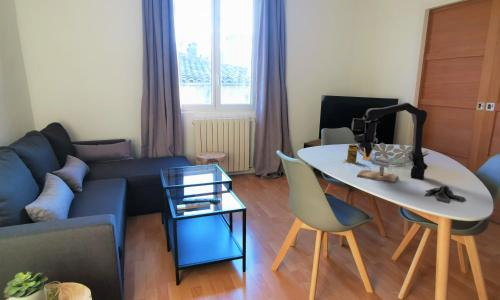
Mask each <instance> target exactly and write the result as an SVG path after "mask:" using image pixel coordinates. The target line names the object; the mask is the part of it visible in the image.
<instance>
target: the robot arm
mask: <svg viewBox="0 0 500 300" xmlns="http://www.w3.org/2000/svg"><path fill="white" fill-rule="evenodd" d="M403 111H406V112H408V113H409V114H410V115H411V119H412V122H413V134H412V135H413V137H412V149H411V151H408V157H407V159H408V160H409V162H410V163H411V165H412V168H411V169H410V178H411V179H416V180H417V179H418V180H425V179H424V178H425V173H426V170H427V168H428V165H427V164H426V162H425V159H424V153H423V151H422V150H423V149H422V147H423V135H424V134H423V133H424V124H425V123H426V121H427V118H428V112H427V111H426V110H425V109H421V108H418V107H416V106H414V105H412V104H411V103H410V102H402V103H399V104H394V105H390V106H386V107H372V108H368V109H367V110H366V111H365V114H364V115H363V117H362V118H354V117H353V118H352V122H351V131H363V130H364V132H363V133H362V134H355V135H354V137H353V140H354V142H355V143H358V142H360V143H359V147H360V148H363V149H364V150H365V152H366V157H369V155H370V153H371V151H372V152H373V150H374V148H375V146H376V144H377V143H378V141H379V139H378V138H377V137H376V135H377V132H376V131H377V130H376V129H377V124H381V121H379V119H380V118H381V117H384V116H385V115H390V114H395V113H399V112H403ZM361 141H362V142H361ZM374 143H375V144H374ZM371 154H372V153H371Z"/></svg>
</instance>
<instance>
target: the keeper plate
mask: <svg viewBox="0 0 500 300" xmlns="http://www.w3.org/2000/svg"><path fill="white" fill-rule="evenodd" d="M356 177H357V178H363V179H368V180H369V179H370V180H374V181H380V182H385V183H386V182H387V183H391V184H394V183H396V180H397V179H398V174H395V173H390V172H389V173H388V172H385V167H383V166H379V170H378V171H376V170H371V169H363V168H362V169H361V170H359V172H358V173H357V174H356Z"/></svg>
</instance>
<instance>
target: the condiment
mask: <svg viewBox="0 0 500 300" xmlns="http://www.w3.org/2000/svg"><path fill="white" fill-rule="evenodd" d="M357 156H358V145H357V144H354V143H353V144H352V143H350V144H349V145H348V148H347V156H346V157H347V159H344V160H343V162H342V163H348V164H353V165H354V164H355V165H356V164H357V163H358V160H357Z"/></svg>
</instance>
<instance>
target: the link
mask: <svg viewBox="0 0 500 300" xmlns="http://www.w3.org/2000/svg"><path fill="white" fill-rule="evenodd" d="M372 152H373V150H372V151H371V153H370V155H369V157H366V152H365V149H364V151H363V154H362V155H363V156H362V161H366V162H371V164H372V165H376V166H379V167H381V166H383V167H384V168H387V169H389V167H390V165H392V162H391V161H389V160H384V159H381V158H380V159H379V158H374V159H372V158H371V157H372Z"/></svg>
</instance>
